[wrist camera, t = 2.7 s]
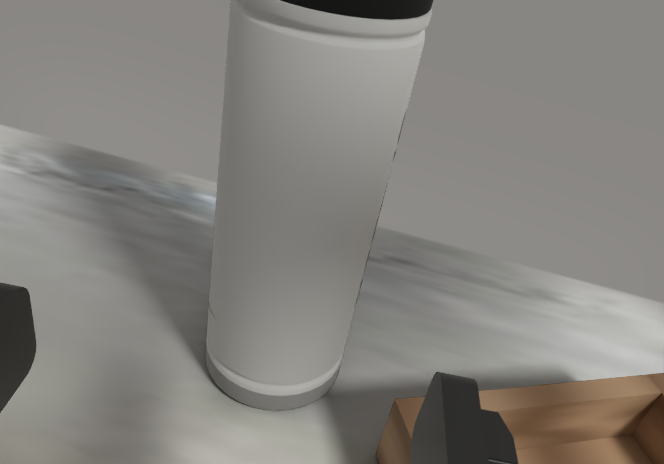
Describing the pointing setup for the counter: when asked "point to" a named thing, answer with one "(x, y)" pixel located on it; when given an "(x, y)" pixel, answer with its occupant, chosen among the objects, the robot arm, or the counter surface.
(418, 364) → the counter surface
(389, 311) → the counter surface
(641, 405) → the walnut caddy
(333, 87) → the travel mug
